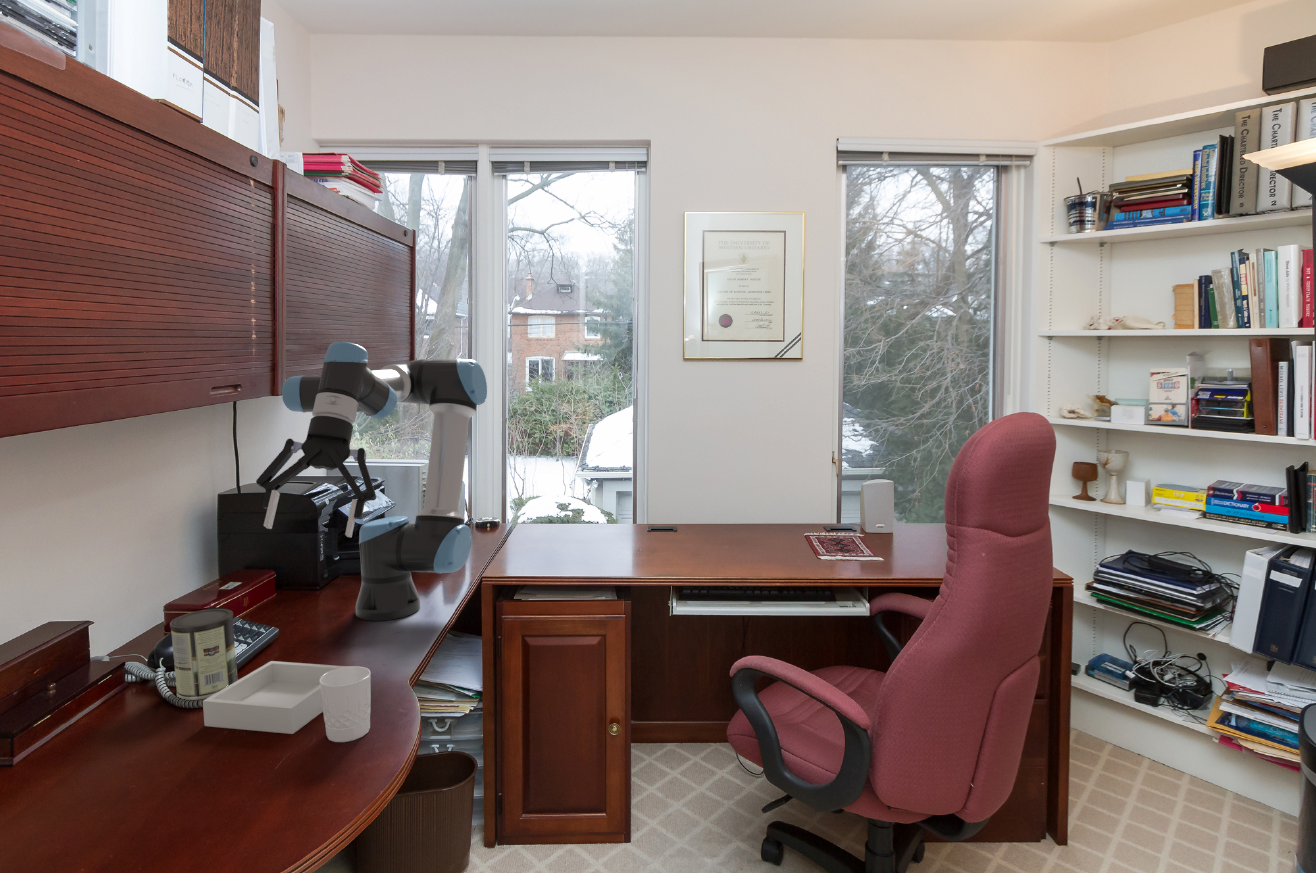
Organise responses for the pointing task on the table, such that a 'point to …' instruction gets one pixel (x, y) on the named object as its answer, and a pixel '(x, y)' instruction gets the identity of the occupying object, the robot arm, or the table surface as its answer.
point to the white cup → (346, 702)
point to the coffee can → (203, 653)
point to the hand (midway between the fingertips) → (308, 531)
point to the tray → (269, 698)
